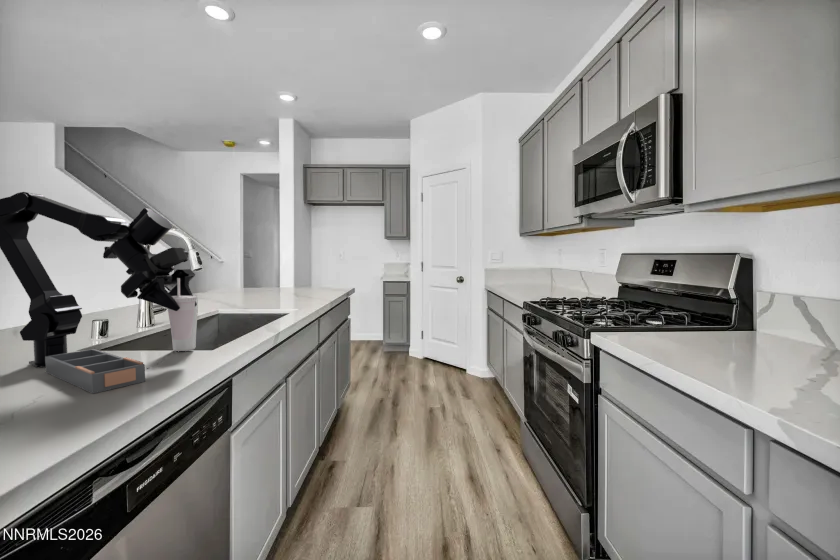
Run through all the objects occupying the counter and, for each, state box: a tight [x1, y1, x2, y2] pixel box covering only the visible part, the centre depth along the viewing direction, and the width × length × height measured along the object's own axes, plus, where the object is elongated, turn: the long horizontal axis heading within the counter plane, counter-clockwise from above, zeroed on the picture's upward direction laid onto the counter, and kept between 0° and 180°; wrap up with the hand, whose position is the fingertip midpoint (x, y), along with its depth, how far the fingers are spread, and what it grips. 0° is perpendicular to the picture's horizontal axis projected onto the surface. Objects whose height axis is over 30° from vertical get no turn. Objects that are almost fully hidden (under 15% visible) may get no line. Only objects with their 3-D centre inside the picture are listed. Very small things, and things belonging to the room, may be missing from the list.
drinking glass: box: [171, 293, 199, 353], centre depth 107 cm, size 7×7×15 cm
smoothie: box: [166, 278, 198, 340], centre depth 92 cm, size 6×6×14 cm
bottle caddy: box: [45, 348, 146, 394], centre depth 83 cm, size 25×9×4 cm, turn 58°
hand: (187, 307), depth 92 cm, fingers closed on smoothie, 6 cm apart
